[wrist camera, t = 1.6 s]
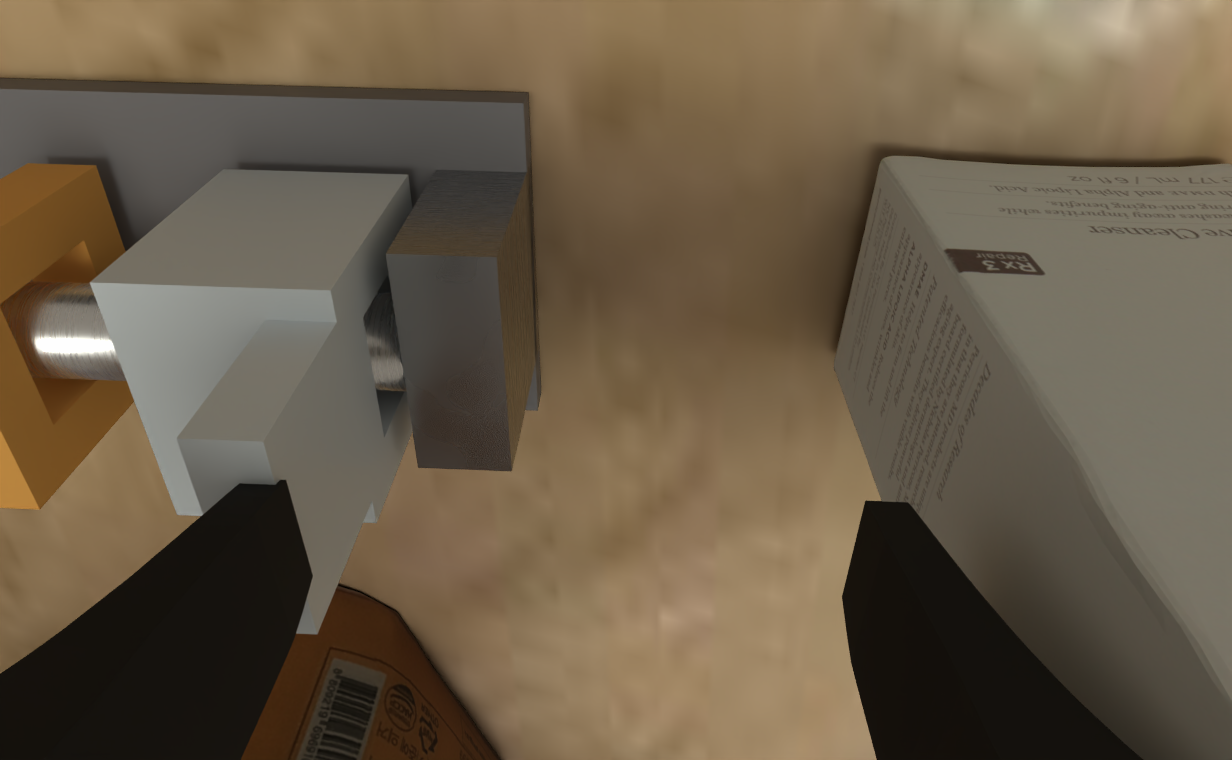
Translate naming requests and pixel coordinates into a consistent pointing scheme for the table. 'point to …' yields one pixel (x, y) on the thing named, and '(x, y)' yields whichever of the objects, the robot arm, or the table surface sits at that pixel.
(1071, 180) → the skincare box
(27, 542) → the table surface
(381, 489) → the sleeve
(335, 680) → the pancake mix bag
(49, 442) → the orange wooden block
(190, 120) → the board
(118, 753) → the robot arm
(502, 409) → the pipe
